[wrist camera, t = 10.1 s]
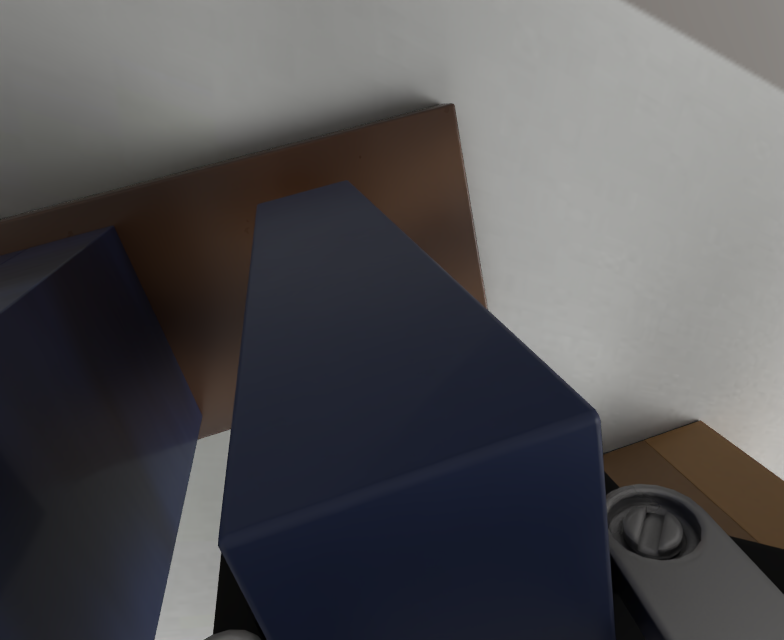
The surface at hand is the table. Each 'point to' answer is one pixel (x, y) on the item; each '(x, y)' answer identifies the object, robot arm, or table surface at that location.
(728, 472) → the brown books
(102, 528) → the blue bookends on base
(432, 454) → the navy book
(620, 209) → the table surface
